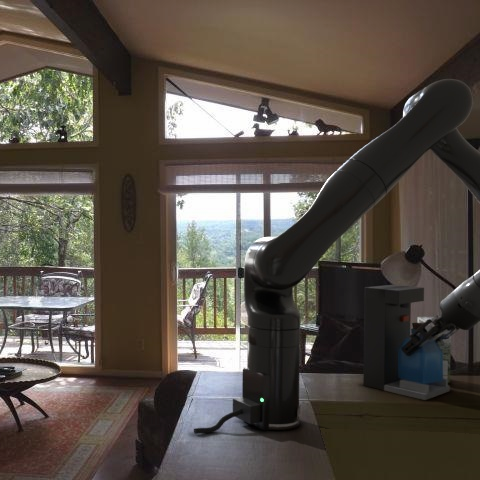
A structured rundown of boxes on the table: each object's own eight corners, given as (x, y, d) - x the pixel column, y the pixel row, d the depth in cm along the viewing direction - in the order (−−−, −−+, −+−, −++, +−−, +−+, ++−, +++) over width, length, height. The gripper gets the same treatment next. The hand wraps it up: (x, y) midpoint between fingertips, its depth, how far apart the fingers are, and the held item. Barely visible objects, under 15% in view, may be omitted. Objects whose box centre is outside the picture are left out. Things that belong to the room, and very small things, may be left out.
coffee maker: (425, 400, 117) (426, 293, 117) (363, 385, 128) (364, 287, 128) (449, 391, 124) (451, 290, 124) (389, 378, 135) (390, 284, 135)
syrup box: (440, 377, 137) (441, 316, 136) (450, 383, 131) (451, 320, 130) (415, 376, 137) (416, 315, 137) (424, 382, 131) (425, 319, 131)
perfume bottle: (398, 378, 125) (397, 322, 125) (418, 375, 128) (417, 321, 128) (422, 384, 119) (422, 326, 120) (442, 380, 122) (442, 324, 122)
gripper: (472, 286, 122) (418, 333, 131) (440, 289, 113) (384, 340, 122) (499, 313, 118) (441, 360, 127) (468, 320, 109) (408, 369, 118)
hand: (413, 350), depth 125 cm, fingers closed on perfume bottle, 7 cm apart
